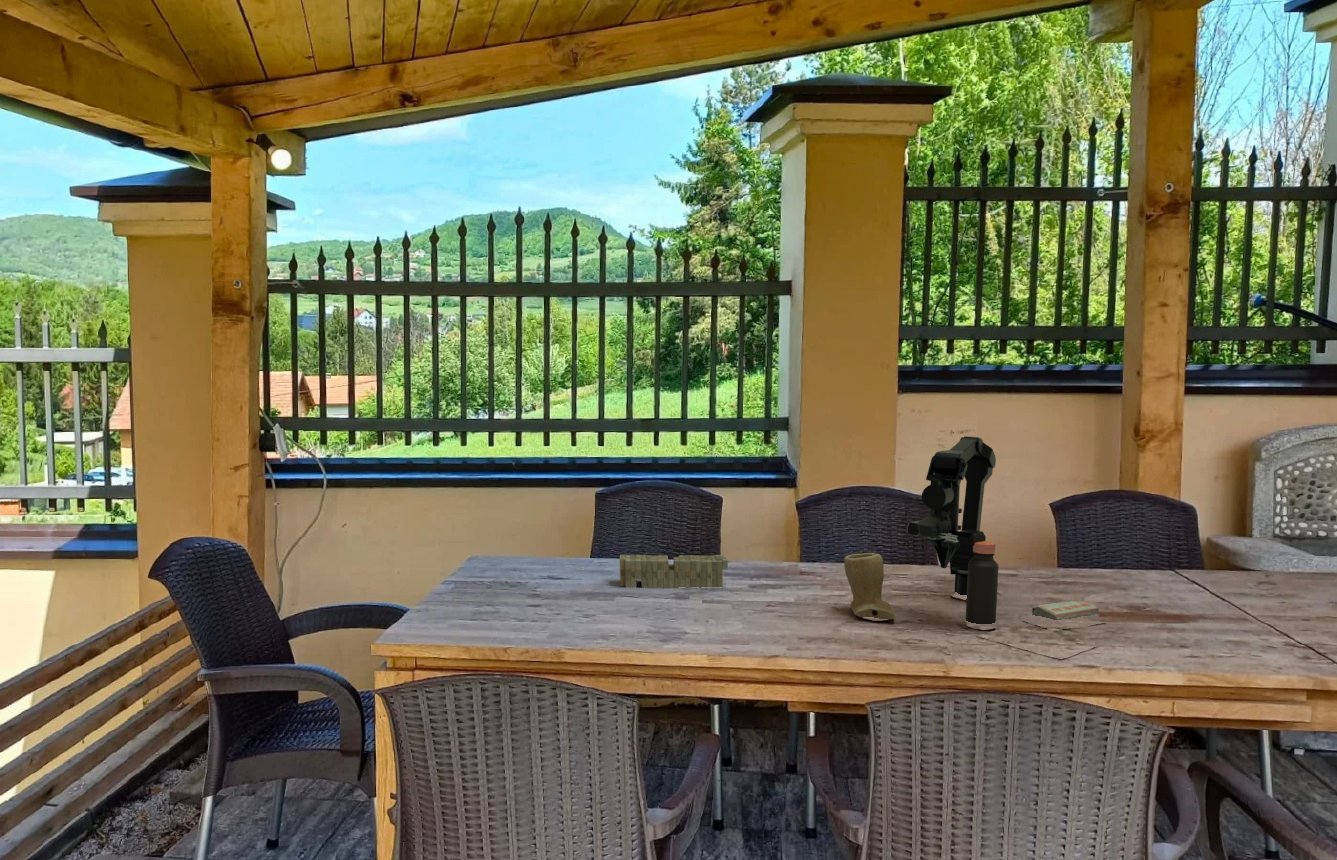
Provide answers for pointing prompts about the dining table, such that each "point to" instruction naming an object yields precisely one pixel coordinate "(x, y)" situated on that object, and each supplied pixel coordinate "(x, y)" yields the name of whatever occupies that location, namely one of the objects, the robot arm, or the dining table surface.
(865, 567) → the olive green boot
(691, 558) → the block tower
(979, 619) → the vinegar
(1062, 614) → the packaged product
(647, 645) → the dining table surface
